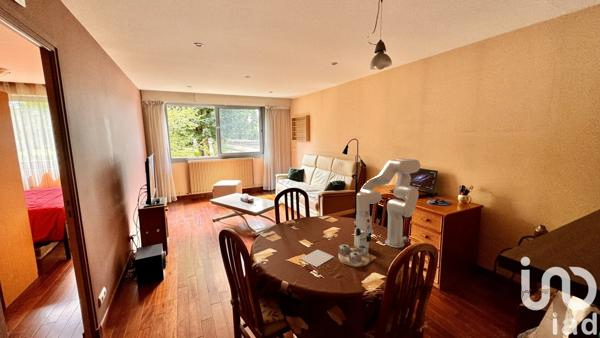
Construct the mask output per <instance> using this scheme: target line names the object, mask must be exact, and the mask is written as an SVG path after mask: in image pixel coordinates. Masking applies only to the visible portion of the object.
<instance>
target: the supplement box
mask: <svg viewBox="0 0 600 338" xmlns="http://www.w3.org/2000/svg"><path fill="white" fill-rule="evenodd" d="M367 231H368V230H367ZM353 233H354V234H353V235H354V237H353V240H354V241H353V246H354V248H356V247H357V246H358V245H365V246H367V247H368V250H369V247H370V242H366V236H367V234H366V232H364V231H362V230H361V235H359V236H356V229H355V228H354V232H353ZM368 234H369V232H368Z"/></svg>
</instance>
